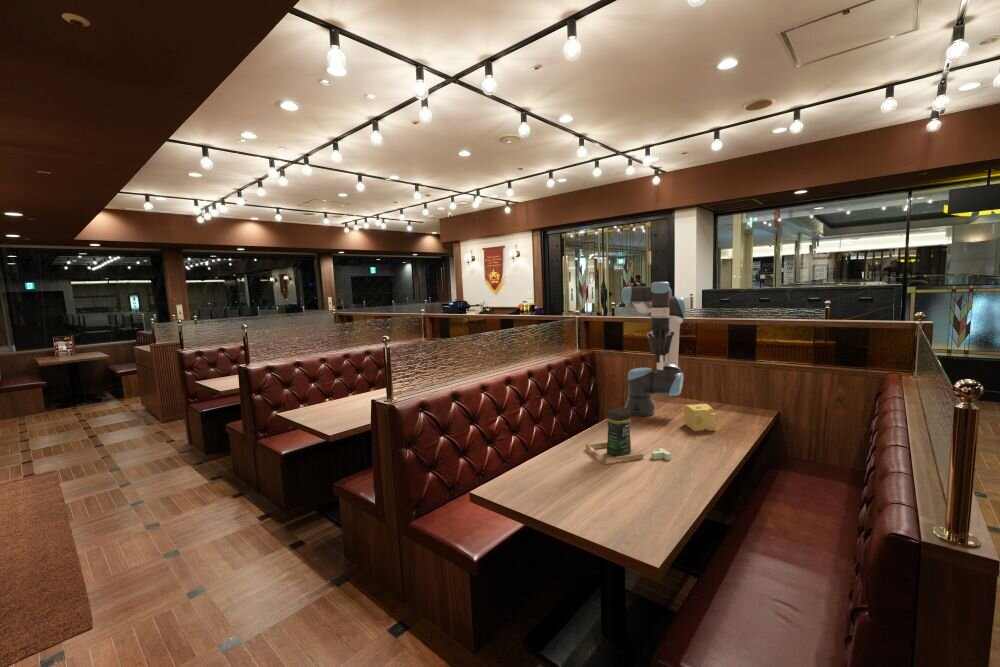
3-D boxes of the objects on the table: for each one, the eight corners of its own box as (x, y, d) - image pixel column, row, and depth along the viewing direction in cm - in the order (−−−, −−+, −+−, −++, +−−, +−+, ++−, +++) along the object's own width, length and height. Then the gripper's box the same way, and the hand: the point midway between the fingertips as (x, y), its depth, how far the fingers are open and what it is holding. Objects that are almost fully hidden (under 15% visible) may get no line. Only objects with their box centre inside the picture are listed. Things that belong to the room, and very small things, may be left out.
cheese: (716, 431, 196) (717, 409, 195) (692, 431, 196) (692, 410, 195) (706, 423, 207) (706, 403, 205) (683, 424, 207) (683, 403, 206)
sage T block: (648, 455, 172) (648, 449, 172) (661, 453, 174) (661, 448, 173) (657, 461, 166) (657, 455, 166) (671, 459, 168) (671, 453, 167)
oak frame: (586, 449, 181) (585, 444, 181) (622, 444, 185) (622, 439, 185) (603, 464, 166) (603, 459, 165) (643, 458, 169) (643, 453, 169)
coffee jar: (619, 459, 170) (619, 413, 168) (603, 453, 176) (603, 409, 174) (634, 452, 176) (634, 408, 173) (619, 447, 182) (618, 404, 180)
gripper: (651, 318, 185) (651, 372, 188) (678, 316, 188) (678, 369, 191) (642, 317, 193) (642, 369, 195) (668, 315, 195) (667, 366, 198)
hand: (659, 369), depth 193 cm, fingers closed
